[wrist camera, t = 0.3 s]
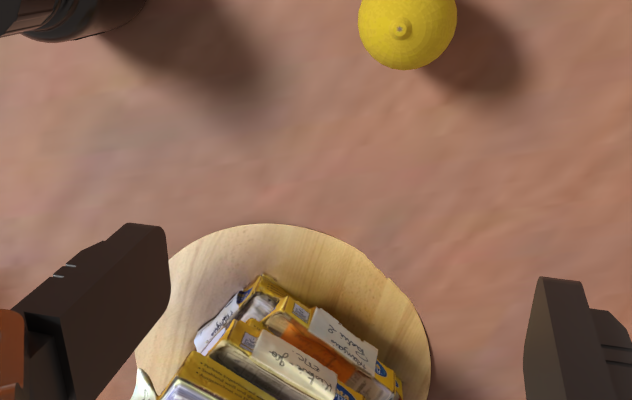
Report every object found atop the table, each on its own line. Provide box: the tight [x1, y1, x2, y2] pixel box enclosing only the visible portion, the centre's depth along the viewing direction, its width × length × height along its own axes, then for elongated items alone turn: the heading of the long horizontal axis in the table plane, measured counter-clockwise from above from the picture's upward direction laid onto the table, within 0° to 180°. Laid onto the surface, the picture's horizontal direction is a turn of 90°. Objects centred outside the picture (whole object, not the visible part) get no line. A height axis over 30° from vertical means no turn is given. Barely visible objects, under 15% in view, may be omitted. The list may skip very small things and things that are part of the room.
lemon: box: [358, 0, 457, 70], centre depth 33 cm, size 6×6×8 cm
